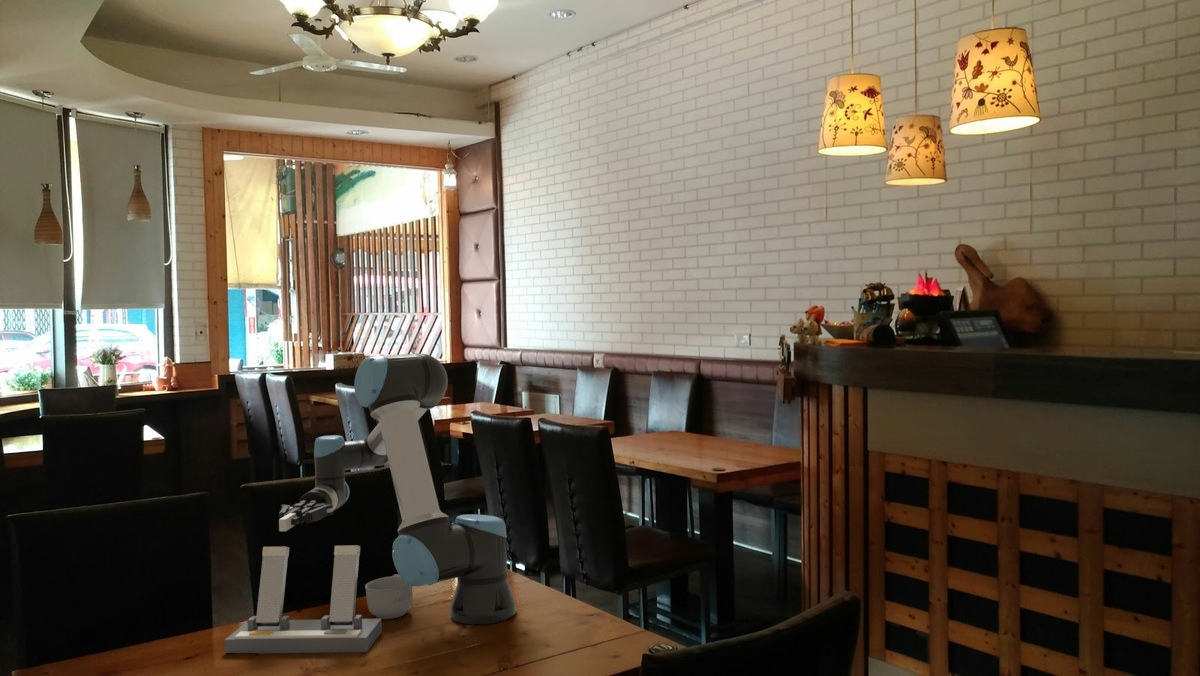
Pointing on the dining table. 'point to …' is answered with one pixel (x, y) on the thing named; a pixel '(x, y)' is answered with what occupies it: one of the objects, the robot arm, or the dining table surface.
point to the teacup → (389, 597)
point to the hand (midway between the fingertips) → (282, 525)
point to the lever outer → (272, 586)
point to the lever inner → (344, 585)
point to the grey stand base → (304, 636)
